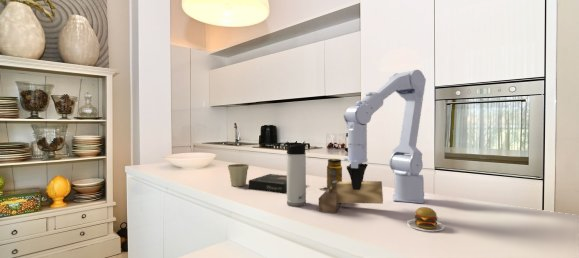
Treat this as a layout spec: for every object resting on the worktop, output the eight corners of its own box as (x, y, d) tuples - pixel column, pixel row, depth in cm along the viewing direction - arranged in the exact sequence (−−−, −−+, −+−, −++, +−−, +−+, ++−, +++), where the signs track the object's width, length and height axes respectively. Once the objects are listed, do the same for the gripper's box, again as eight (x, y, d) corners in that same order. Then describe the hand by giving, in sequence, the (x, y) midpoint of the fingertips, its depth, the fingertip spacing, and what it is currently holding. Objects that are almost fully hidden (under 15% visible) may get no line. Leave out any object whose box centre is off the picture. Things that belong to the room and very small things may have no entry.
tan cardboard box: (343, 201, 101) (343, 186, 101) (335, 213, 89) (335, 196, 88) (328, 200, 103) (328, 185, 103) (318, 211, 90) (318, 194, 90)
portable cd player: (303, 185, 128) (303, 176, 128) (284, 194, 113) (284, 184, 113) (270, 182, 136) (270, 173, 136) (248, 190, 121) (248, 180, 121)
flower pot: (225, 184, 131) (224, 164, 131) (245, 182, 135) (245, 163, 135) (230, 188, 122) (230, 167, 122) (252, 186, 126) (252, 165, 126)
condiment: (346, 189, 120) (346, 159, 120) (333, 192, 114) (333, 161, 114) (332, 186, 125) (332, 157, 125) (318, 189, 120) (318, 159, 119)
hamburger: (410, 217, 86) (410, 198, 86) (457, 227, 77) (457, 206, 77) (392, 229, 77) (392, 208, 77) (443, 241, 69) (443, 218, 69)
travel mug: (305, 207, 95) (305, 144, 94) (285, 206, 96) (284, 144, 96) (308, 201, 101) (307, 142, 101) (289, 201, 102) (288, 142, 102)
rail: (383, 200, 92) (381, 180, 92) (382, 203, 89) (381, 182, 89) (334, 199, 97) (333, 180, 97) (332, 202, 94) (331, 182, 94)
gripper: (347, 142, 101) (347, 182, 101) (340, 146, 87) (340, 192, 87) (369, 143, 98) (369, 184, 99) (365, 146, 85) (365, 194, 85)
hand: (357, 188), depth 93 cm, fingers closed on rail, 3 cm apart
